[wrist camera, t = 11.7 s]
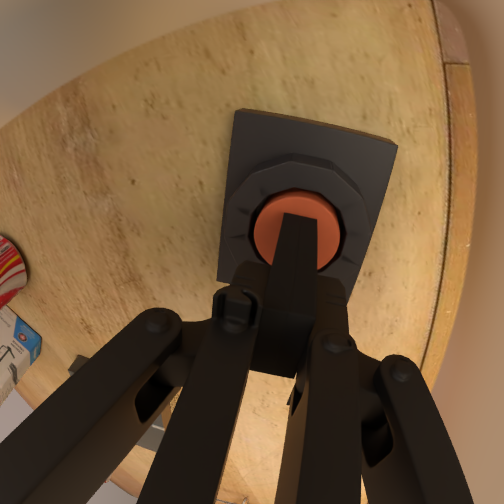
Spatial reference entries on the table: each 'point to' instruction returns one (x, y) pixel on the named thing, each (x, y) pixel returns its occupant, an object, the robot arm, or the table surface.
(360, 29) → the table surface
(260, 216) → the button
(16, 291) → the beverage can
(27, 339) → the ink box
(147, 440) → the dark grey base plate
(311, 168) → the button box
